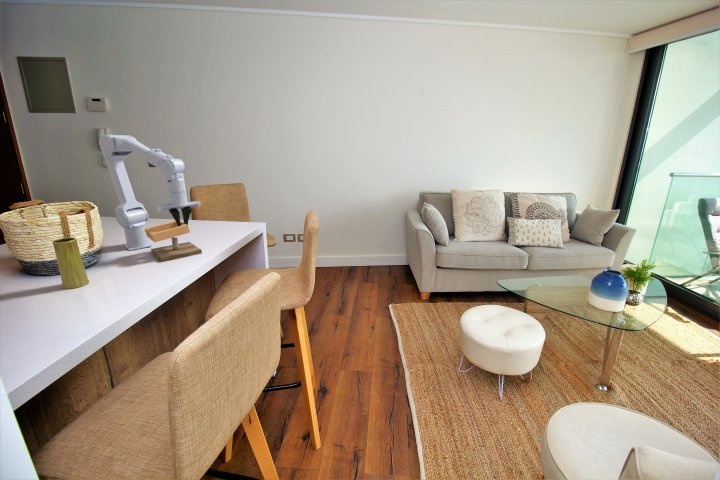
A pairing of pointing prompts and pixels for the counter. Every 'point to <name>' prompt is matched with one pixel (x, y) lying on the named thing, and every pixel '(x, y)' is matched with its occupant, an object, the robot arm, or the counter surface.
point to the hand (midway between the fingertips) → (182, 227)
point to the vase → (70, 263)
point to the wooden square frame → (166, 231)
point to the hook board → (175, 250)
